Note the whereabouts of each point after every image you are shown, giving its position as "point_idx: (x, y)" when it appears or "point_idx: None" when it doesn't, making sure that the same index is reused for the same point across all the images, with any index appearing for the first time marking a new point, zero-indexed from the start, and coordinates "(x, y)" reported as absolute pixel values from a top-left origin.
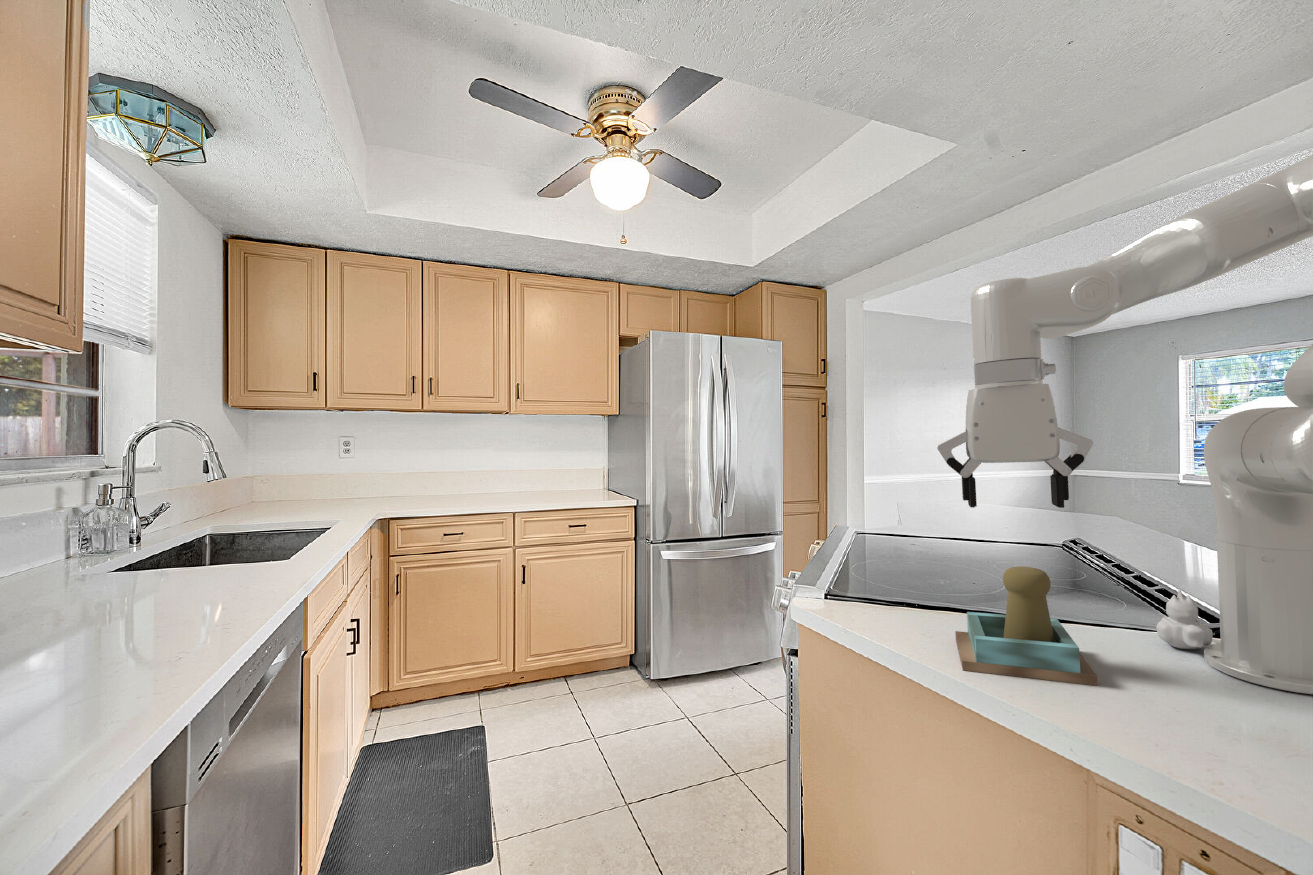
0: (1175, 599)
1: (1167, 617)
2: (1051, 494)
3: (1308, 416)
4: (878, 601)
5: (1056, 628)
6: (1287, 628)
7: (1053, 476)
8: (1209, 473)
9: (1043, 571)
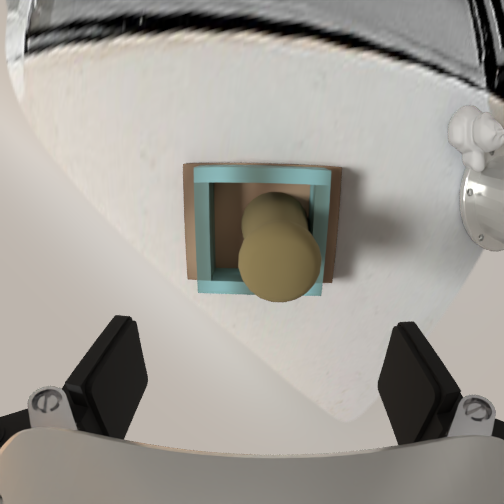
0: (492, 137)
1: (470, 121)
2: (405, 344)
3: None
4: (88, 28)
5: (317, 221)
6: None
7: (416, 435)
8: None
9: (314, 269)
